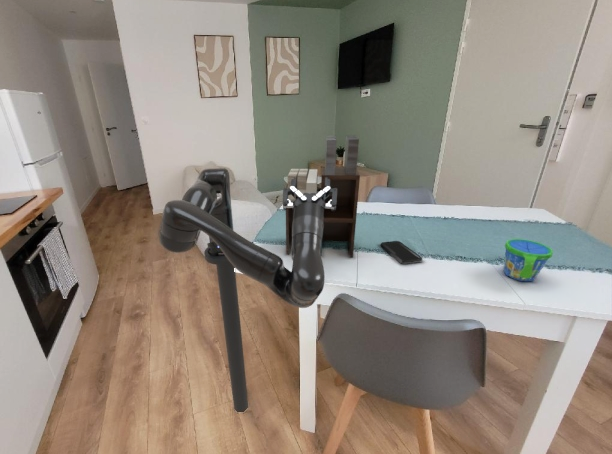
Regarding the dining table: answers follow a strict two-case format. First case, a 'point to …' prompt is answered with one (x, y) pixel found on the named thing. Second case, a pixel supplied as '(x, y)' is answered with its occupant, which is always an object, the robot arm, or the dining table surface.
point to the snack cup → (525, 259)
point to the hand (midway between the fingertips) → (310, 179)
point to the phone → (401, 252)
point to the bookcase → (347, 183)
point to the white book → (312, 181)
